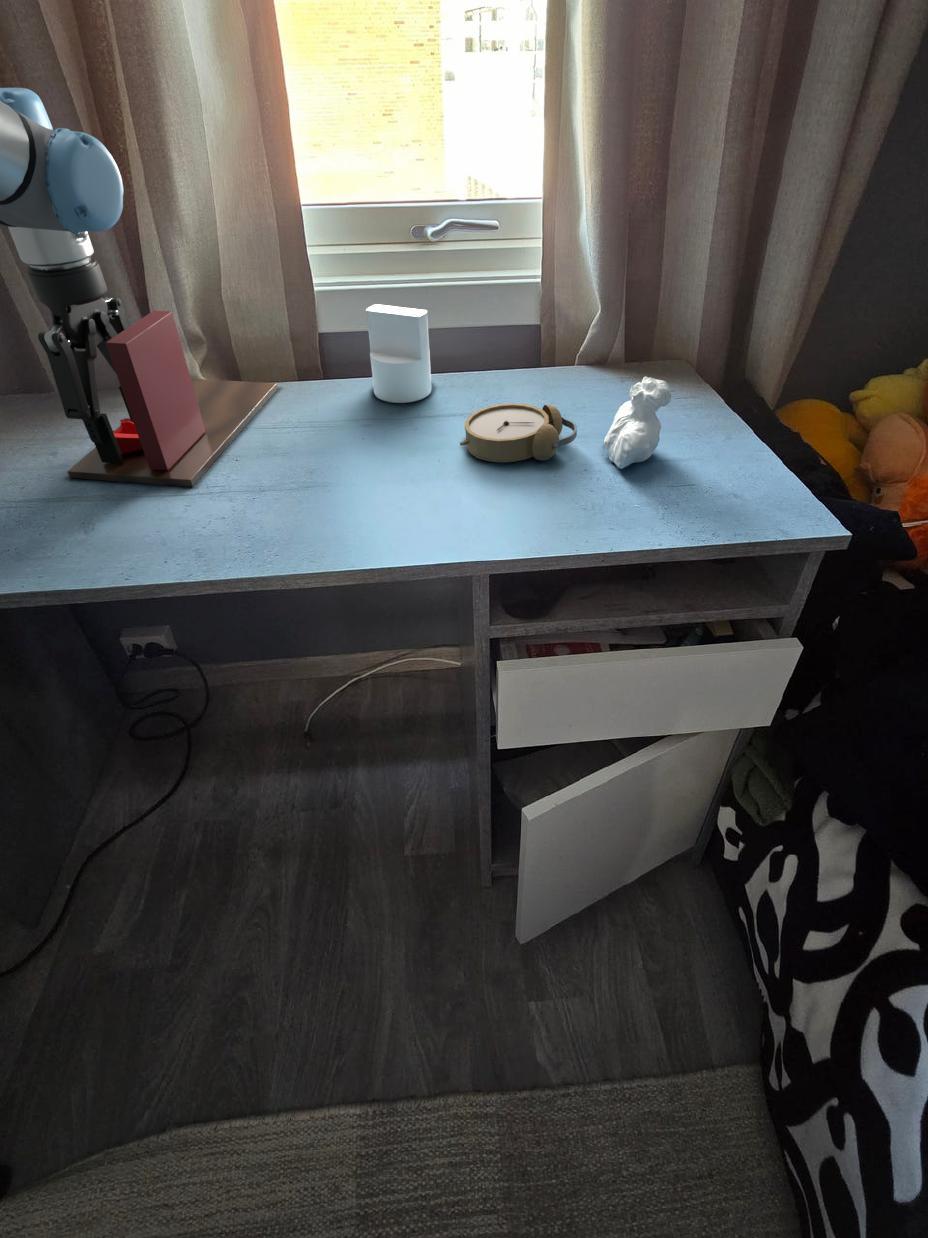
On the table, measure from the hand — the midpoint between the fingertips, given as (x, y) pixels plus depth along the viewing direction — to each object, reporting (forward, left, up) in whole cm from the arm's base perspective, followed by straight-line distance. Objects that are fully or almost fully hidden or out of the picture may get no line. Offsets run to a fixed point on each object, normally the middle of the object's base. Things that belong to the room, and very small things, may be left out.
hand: (129, 445), depth 93 cm
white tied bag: (+56, -36, -1) cm, 67 cm away
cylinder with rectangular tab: (+40, -1, -1) cm, 40 cm away
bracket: (0, 0, 0) cm, 0 cm away
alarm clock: (+45, -26, -1) cm, 53 cm away
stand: (+8, +4, -1) cm, 9 cm away
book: (+5, -4, 0) cm, 7 cm away
